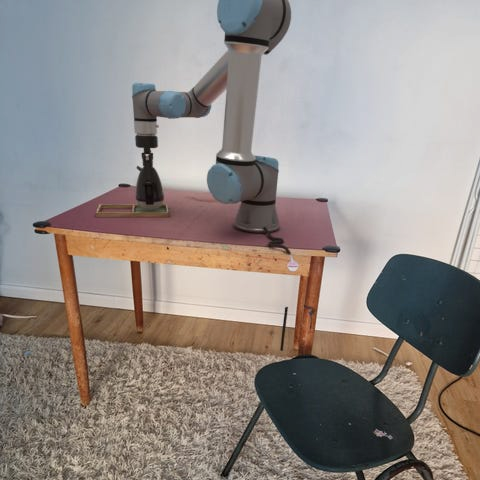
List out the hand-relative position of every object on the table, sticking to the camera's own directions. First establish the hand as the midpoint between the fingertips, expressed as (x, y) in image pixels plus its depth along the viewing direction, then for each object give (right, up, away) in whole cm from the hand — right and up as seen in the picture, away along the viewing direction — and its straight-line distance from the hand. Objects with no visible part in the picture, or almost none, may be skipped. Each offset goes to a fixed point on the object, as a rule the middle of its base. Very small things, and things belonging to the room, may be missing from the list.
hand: (149, 200), depth 153 cm
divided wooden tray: (-6, -4, +1) cm, 7 cm away
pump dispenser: (0, -3, +1) cm, 3 cm away
